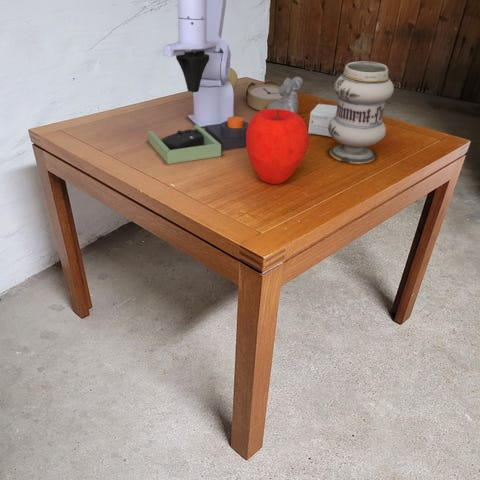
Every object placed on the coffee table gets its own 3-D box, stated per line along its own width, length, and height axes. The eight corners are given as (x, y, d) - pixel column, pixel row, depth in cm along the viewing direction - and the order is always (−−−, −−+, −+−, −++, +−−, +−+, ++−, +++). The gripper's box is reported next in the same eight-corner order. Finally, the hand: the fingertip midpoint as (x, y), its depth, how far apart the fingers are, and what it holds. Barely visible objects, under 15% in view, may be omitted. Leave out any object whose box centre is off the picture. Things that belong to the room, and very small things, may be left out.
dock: (198, 135, 119) (198, 124, 117) (221, 156, 109) (221, 144, 108) (148, 142, 114) (147, 130, 113) (167, 164, 105) (167, 152, 103)
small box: (307, 133, 121) (309, 111, 118) (315, 124, 127) (318, 102, 123) (339, 139, 119) (342, 116, 116) (346, 128, 125) (350, 107, 121)
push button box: (205, 135, 119) (204, 117, 116) (240, 130, 122) (240, 113, 119) (222, 150, 112) (222, 132, 109) (259, 145, 115) (260, 127, 112)
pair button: (224, 125, 114) (224, 117, 113) (239, 123, 115) (239, 115, 114) (231, 130, 111) (231, 122, 110) (246, 128, 112) (246, 120, 111)
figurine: (261, 116, 130) (263, 71, 124) (300, 120, 129) (304, 74, 122) (255, 126, 124) (256, 79, 117) (296, 130, 122) (300, 83, 116)
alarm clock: (258, 102, 130) (237, 76, 138) (256, 120, 133) (235, 94, 142) (297, 98, 133) (274, 73, 142) (294, 116, 137) (271, 90, 146)
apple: (307, 171, 104) (315, 103, 95) (300, 196, 95) (307, 123, 87) (251, 165, 106) (254, 97, 97) (238, 188, 97) (240, 116, 88)
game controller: (188, 132, 117) (200, 118, 112) (200, 153, 117) (213, 139, 113) (156, 143, 111) (168, 128, 106) (169, 165, 112) (181, 151, 107)
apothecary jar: (318, 160, 109) (330, 69, 97) (331, 141, 117) (344, 56, 106) (375, 170, 105) (394, 76, 94) (384, 150, 114) (402, 62, 103)
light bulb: (225, 113, 131) (225, 71, 125) (208, 107, 134) (207, 66, 128) (242, 108, 135) (243, 67, 129) (224, 102, 138) (225, 62, 132)
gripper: (203, 15, 109) (203, 84, 116) (151, 17, 99) (155, 92, 107) (227, 18, 105) (226, 89, 113) (176, 21, 96) (178, 98, 104)
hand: (193, 91), depth 110 cm, fingers closed
